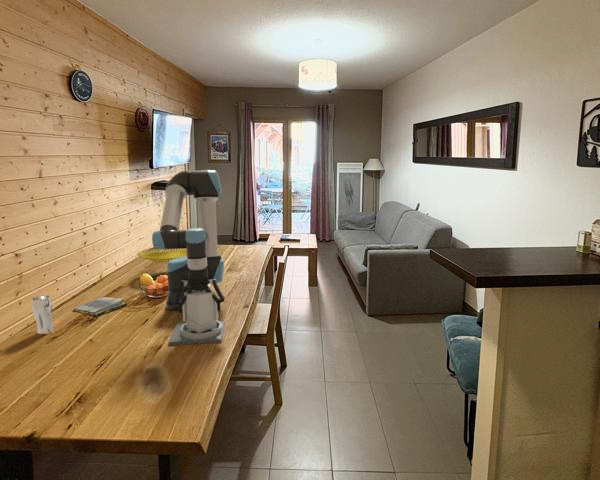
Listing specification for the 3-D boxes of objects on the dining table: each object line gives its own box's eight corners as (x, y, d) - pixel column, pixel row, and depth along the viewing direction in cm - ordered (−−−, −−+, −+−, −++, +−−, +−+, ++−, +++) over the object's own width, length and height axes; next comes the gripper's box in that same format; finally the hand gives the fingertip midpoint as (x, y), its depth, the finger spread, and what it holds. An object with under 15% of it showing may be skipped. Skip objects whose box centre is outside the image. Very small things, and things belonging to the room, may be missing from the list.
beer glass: (58, 328, 187) (53, 294, 184) (49, 335, 180) (44, 300, 177) (41, 329, 187) (36, 295, 184) (32, 335, 180) (27, 300, 177)
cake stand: (221, 269, 278) (220, 246, 275) (178, 287, 242) (176, 261, 239) (170, 264, 295) (169, 242, 292) (124, 280, 259) (121, 255, 256)
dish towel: (71, 311, 209) (70, 305, 208) (103, 300, 224) (103, 294, 224) (97, 318, 200) (97, 311, 200) (129, 305, 216) (128, 299, 215)
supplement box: (217, 326, 179) (215, 291, 176) (199, 333, 172) (196, 297, 169) (204, 321, 185) (201, 287, 182) (185, 328, 178) (183, 292, 175)
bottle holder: (168, 345, 169) (167, 337, 168) (177, 326, 187) (176, 319, 187) (221, 342, 170) (220, 334, 170) (224, 323, 189) (224, 316, 188)
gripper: (164, 271, 169) (168, 324, 173) (228, 268, 171) (231, 321, 175) (167, 266, 176) (172, 317, 180) (229, 264, 178) (231, 314, 183)
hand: (201, 319), depth 178 cm, fingers closed on supplement box, 12 cm apart
